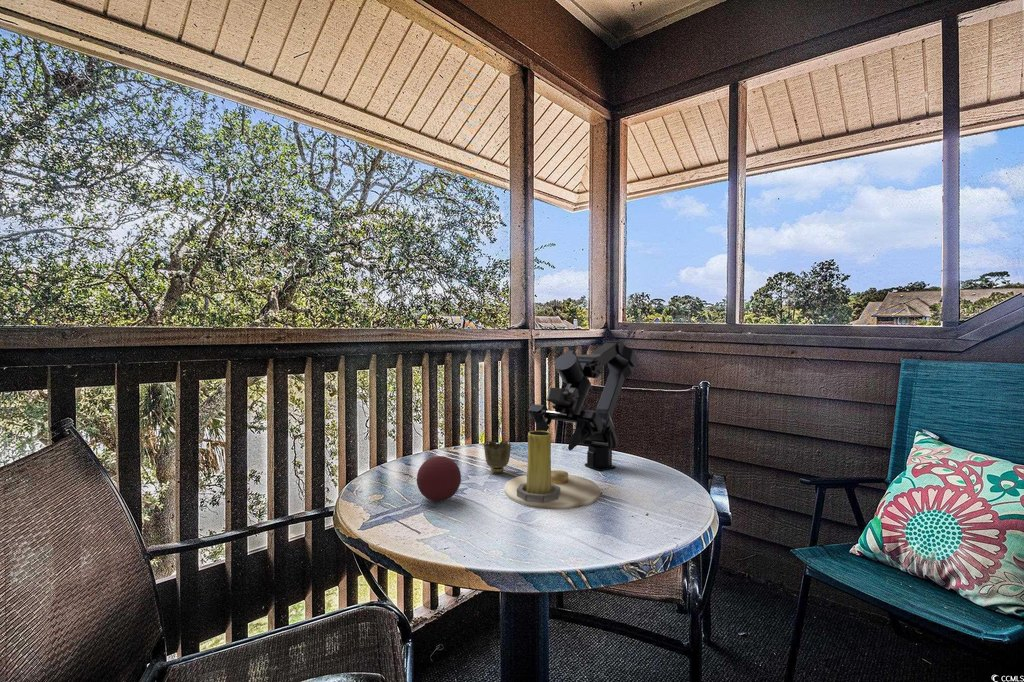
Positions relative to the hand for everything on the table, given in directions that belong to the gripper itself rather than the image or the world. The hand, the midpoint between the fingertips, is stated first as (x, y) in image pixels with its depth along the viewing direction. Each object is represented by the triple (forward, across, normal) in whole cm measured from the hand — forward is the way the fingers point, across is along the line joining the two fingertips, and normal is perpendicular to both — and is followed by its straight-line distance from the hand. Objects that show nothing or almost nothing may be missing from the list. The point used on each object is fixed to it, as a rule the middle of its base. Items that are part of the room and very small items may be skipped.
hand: (552, 446), depth 114 cm
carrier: (+7, 0, +8) cm, 11 cm away
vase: (+11, 0, +3) cm, 12 cm away
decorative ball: (+22, -18, -6) cm, 29 cm away
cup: (+5, -20, +11) cm, 24 cm away
